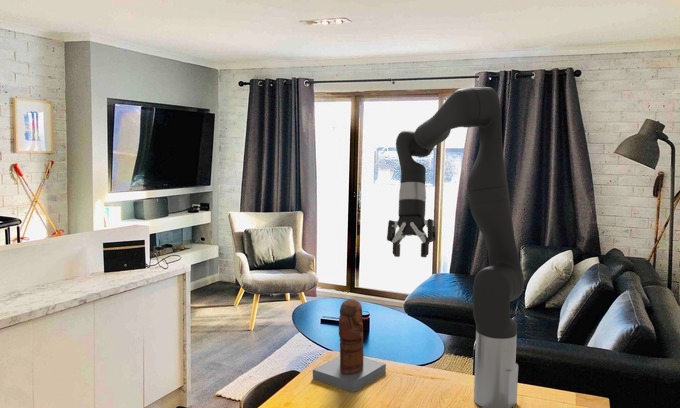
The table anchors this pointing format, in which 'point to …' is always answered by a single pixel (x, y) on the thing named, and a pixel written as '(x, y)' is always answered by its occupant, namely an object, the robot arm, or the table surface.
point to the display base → (349, 381)
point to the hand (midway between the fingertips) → (410, 256)
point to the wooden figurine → (351, 337)
